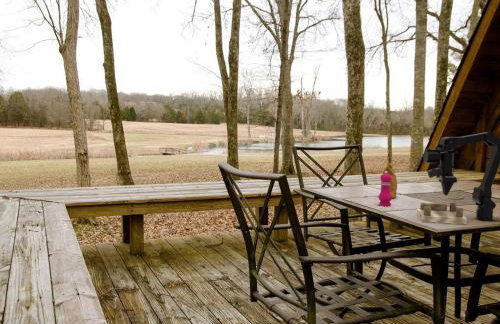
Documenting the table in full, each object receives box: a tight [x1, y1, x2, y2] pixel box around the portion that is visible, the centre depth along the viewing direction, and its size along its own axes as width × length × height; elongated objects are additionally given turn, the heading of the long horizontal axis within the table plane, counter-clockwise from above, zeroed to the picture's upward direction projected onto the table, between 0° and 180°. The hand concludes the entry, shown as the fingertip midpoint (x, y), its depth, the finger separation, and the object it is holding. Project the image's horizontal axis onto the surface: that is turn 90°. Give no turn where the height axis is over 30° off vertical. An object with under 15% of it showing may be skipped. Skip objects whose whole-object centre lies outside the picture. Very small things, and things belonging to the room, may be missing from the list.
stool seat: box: [416, 202, 467, 225], centre depth 205 cm, size 19×19×7 cm
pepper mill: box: [378, 171, 393, 207], centre depth 239 cm, size 7×7×20 cm
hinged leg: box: [419, 202, 448, 211], centre depth 212 cm, size 12×3×3 cm, turn 76°
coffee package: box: [380, 162, 398, 199], centre depth 266 cm, size 10×12×22 cm
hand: (445, 194), depth 204 cm, fingers open, 3 cm apart
